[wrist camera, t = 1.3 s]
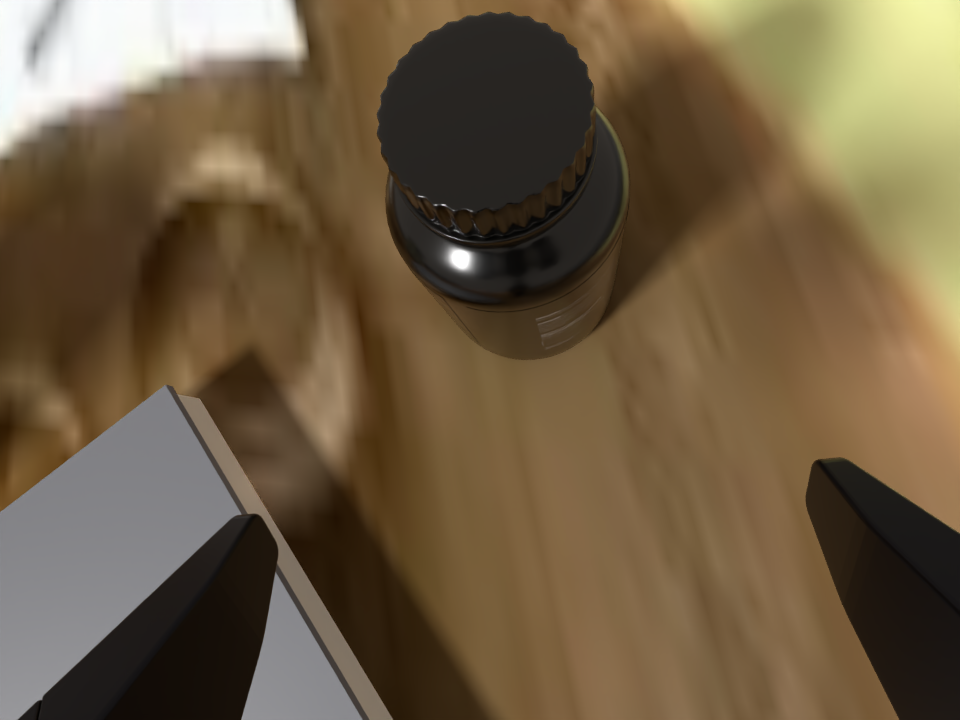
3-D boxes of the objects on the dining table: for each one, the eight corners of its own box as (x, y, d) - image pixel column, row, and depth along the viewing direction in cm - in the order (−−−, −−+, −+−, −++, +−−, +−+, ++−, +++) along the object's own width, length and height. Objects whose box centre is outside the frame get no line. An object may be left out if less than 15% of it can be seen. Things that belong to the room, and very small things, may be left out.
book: (473, 824, 21) (458, 882, 18) (173, 1048, 21) (110, 1141, 19) (211, 393, 26) (165, 385, 23) (-34, 582, 26) (-111, 597, 23)
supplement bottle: (600, 192, 24) (630, -62, 12) (623, 352, 23) (678, 237, 11) (439, 216, 25) (326, 0, 13) (452, 371, 24) (338, 283, 12)
